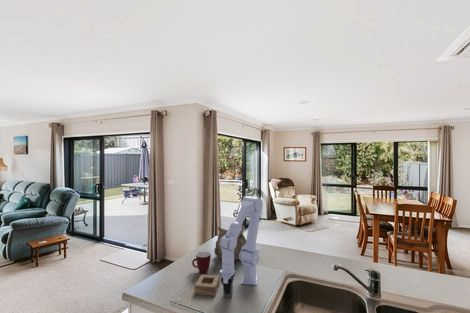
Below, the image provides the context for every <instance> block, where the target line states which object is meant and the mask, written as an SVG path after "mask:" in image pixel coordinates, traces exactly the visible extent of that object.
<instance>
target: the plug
mask: <svg viewBox="0 0 470 313" xmlns="http://www.w3.org/2000/svg"><path fill="white" fill-rule="evenodd" d="M230 279H233V280H234V277H233V278H230ZM222 287H223V286H222ZM222 291H223V293H222V295H223V297H222V298H229V299H230V298H232V297H233V294H234V281H233V282H232V284H231V290H230V294H225V291H224V287H223V288H222Z"/></svg>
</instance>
